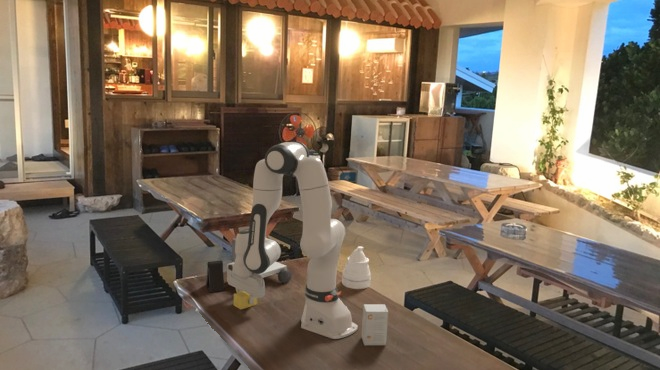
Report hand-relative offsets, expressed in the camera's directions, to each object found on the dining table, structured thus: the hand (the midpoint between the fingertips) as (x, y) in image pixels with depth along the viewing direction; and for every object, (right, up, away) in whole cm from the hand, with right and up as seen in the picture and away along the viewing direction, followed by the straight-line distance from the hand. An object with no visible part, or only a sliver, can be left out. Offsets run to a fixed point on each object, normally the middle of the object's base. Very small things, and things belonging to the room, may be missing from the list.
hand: (245, 301), depth 218 cm
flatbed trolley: (+2, +3, +25) cm, 25 cm away
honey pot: (+46, +2, +28) cm, 54 cm away
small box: (+50, -10, -24) cm, 56 cm away
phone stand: (-16, +2, +16) cm, 22 cm away
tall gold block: (0, -2, 0) cm, 2 cm away
